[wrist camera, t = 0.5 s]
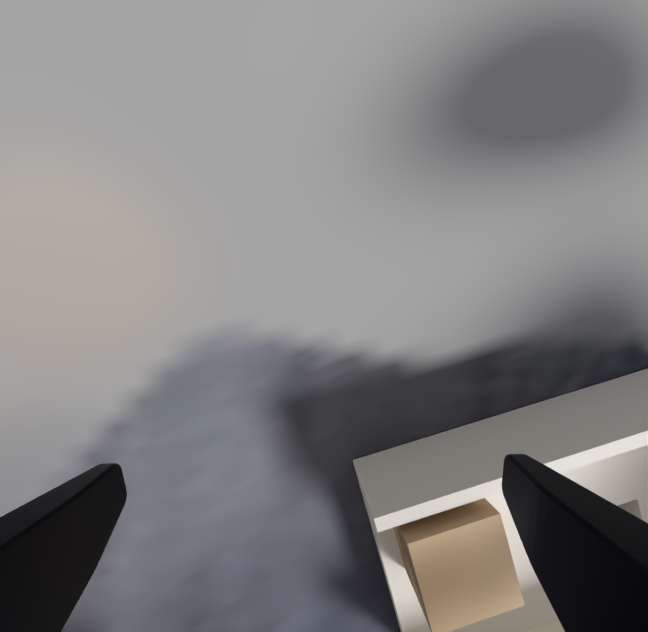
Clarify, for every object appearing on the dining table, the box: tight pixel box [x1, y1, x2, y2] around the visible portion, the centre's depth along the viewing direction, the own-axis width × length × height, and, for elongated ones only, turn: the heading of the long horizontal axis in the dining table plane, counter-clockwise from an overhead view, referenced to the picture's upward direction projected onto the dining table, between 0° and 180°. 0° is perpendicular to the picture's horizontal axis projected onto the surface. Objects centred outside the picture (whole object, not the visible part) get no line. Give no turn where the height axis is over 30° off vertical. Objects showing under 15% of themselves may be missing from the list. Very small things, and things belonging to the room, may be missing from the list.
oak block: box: [394, 498, 525, 632], centre depth 17 cm, size 4×4×4 cm
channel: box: [353, 369, 648, 632], centre depth 19 cm, size 11×22×6 cm, turn 106°
